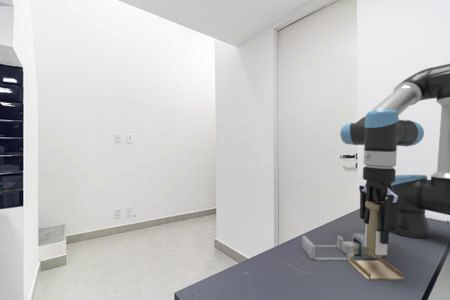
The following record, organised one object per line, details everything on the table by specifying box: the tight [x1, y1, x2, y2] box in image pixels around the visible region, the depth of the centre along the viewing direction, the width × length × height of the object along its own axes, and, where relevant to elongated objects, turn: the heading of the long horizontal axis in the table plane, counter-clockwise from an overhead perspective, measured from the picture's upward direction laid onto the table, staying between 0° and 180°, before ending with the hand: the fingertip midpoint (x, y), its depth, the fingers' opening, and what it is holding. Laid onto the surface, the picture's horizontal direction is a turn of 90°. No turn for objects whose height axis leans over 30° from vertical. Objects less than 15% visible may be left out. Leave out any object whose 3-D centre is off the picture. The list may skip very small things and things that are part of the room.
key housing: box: [350, 233, 378, 260], centre depth 76 cm, size 5×7×5 cm
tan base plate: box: [347, 257, 406, 281], centre depth 66 cm, size 10×9×2 cm
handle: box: [365, 201, 384, 258], centre depth 66 cm, size 5×6×15 cm
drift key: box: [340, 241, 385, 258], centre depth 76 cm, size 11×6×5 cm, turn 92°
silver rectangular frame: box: [301, 235, 355, 261], centre depth 76 cm, size 13×9×4 cm
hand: (375, 250), depth 66 cm, fingers closed on handle, 4 cm apart
